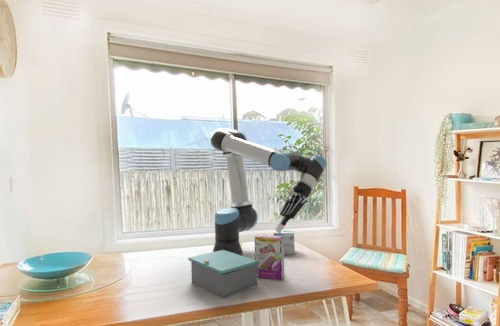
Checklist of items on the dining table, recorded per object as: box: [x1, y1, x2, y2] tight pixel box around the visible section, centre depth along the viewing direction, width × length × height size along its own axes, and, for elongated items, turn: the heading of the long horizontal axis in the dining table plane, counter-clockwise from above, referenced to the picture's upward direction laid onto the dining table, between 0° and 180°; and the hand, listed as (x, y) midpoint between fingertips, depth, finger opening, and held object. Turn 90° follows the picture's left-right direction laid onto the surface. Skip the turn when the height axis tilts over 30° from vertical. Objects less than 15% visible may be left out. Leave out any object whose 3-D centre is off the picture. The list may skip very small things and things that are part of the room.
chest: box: [190, 261, 258, 299], centre depth 114 cm, size 20×16×8 cm
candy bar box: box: [254, 234, 285, 281], centre depth 120 cm, size 11×5×16 cm, turn 71°
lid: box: [187, 250, 258, 274], centre depth 114 cm, size 21×17×2 cm
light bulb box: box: [272, 229, 296, 255], centre depth 154 cm, size 11×7×11 cm, turn 84°
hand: (277, 231), depth 123 cm, fingers closed
